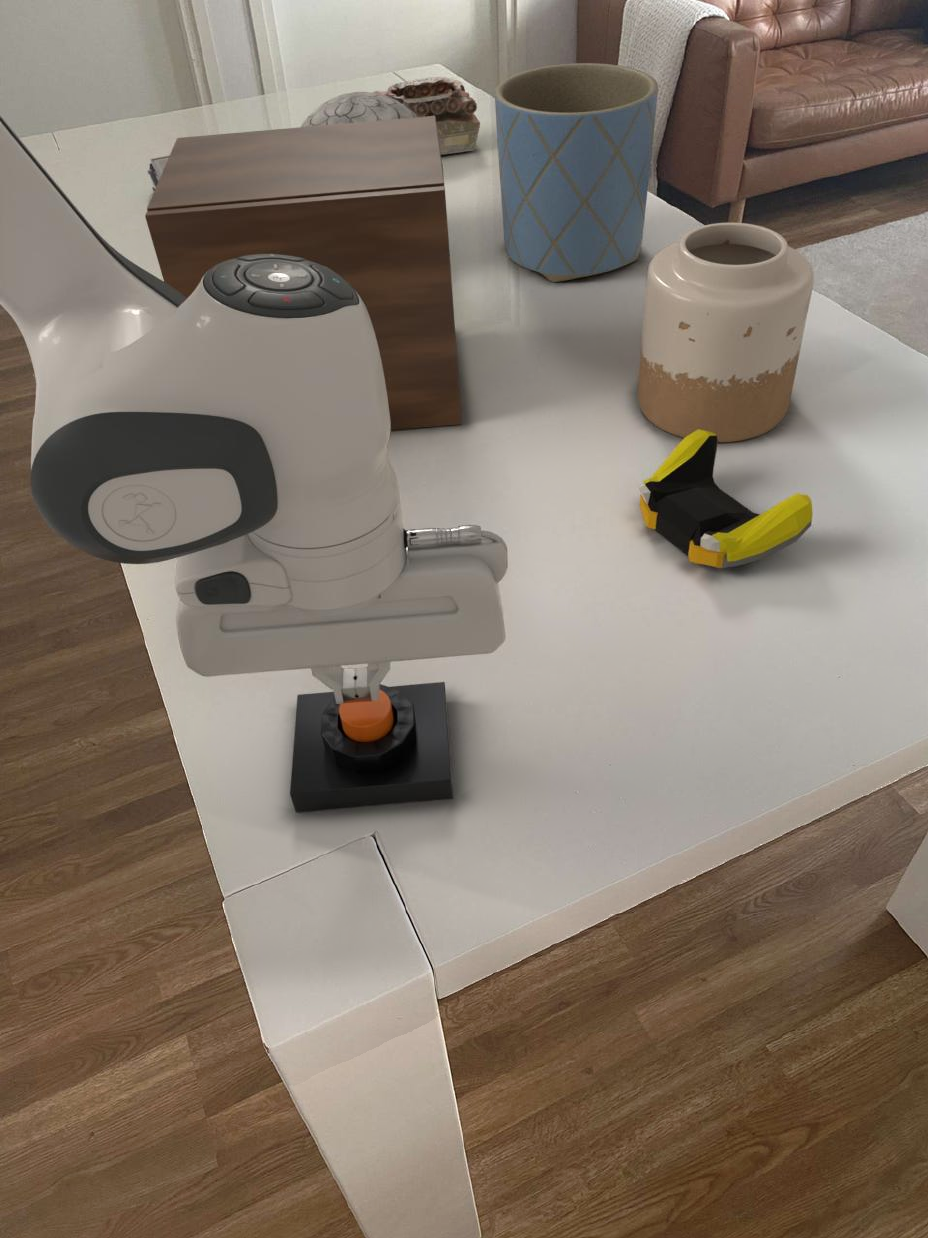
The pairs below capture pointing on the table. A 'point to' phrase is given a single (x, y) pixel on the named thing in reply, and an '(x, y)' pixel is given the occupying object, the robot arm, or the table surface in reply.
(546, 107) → the planter
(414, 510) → the table surface
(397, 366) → the cupboard door
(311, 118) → the decorative sphere
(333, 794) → the control block
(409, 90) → the tank model
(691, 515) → the gaming controller
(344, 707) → the button
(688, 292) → the vase
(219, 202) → the cupboard
